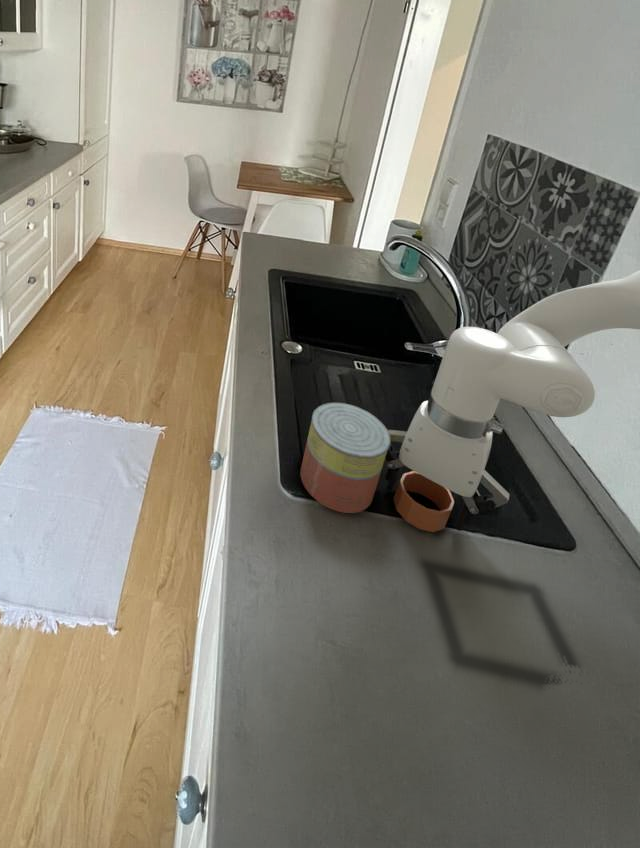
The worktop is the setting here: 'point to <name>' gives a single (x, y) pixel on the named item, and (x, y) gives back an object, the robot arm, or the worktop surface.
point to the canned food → (344, 456)
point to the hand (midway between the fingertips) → (424, 503)
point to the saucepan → (417, 512)
